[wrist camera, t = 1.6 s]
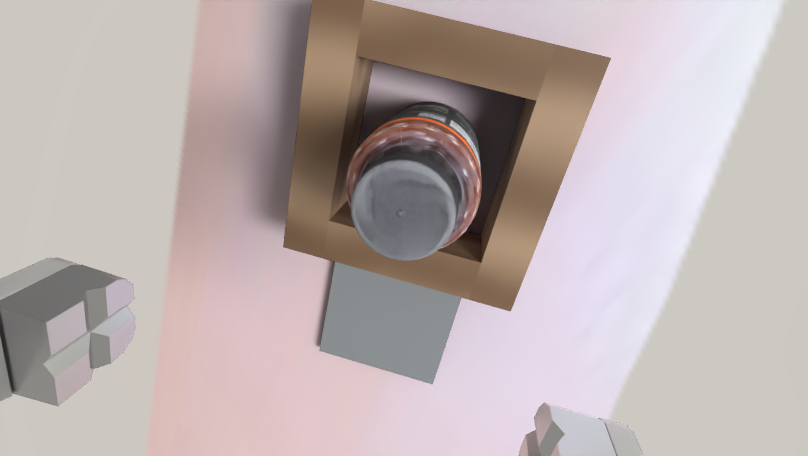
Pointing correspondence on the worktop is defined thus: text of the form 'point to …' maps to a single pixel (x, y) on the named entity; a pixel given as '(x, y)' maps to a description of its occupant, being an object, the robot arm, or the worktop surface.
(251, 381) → the worktop surface
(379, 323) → the grey mat
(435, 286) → the frame
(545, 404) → the robot arm
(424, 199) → the supplement bottle
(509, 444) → the worktop surface
